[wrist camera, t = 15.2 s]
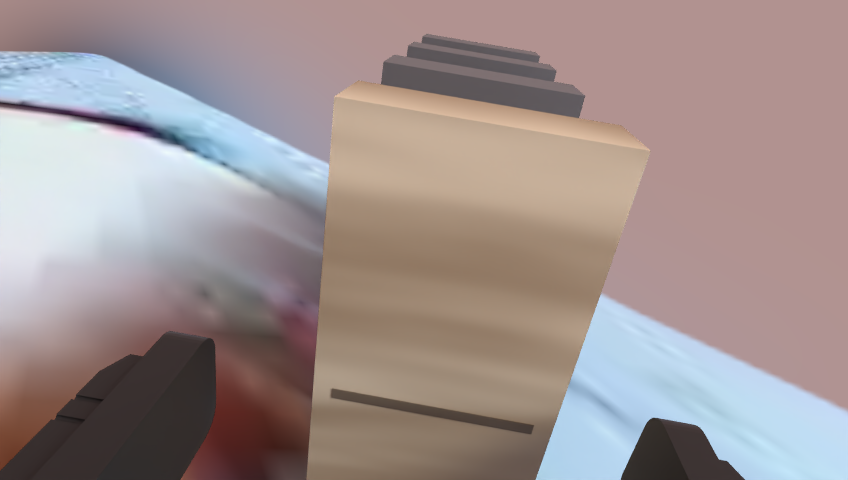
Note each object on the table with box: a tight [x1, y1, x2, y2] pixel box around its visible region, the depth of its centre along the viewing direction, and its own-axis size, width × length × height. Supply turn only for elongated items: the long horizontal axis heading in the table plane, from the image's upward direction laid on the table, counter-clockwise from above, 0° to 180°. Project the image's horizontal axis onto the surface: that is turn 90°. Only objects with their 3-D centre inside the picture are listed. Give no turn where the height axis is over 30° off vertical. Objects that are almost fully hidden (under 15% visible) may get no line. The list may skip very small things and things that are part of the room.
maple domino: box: [306, 81, 650, 480], centre depth 11 cm, size 2×5×12 cm, turn 84°
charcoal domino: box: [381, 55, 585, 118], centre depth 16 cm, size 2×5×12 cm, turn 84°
